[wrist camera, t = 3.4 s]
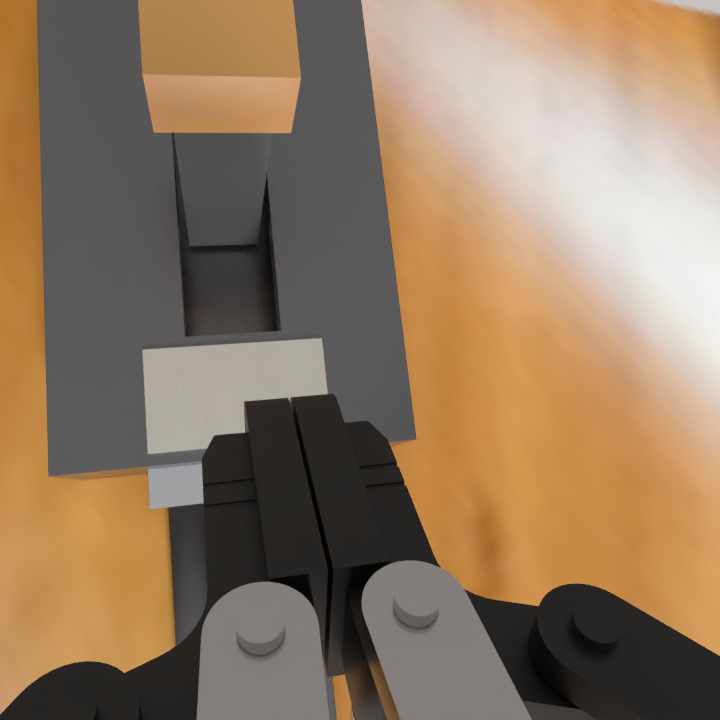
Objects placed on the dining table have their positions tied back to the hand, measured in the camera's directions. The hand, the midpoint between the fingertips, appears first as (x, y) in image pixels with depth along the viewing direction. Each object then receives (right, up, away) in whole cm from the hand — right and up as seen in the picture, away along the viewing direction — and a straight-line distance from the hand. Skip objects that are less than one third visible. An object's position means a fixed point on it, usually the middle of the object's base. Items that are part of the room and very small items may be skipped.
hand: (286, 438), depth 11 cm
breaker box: (-6, +8, +22) cm, 24 cm away
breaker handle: (-5, +8, +21) cm, 23 cm away
